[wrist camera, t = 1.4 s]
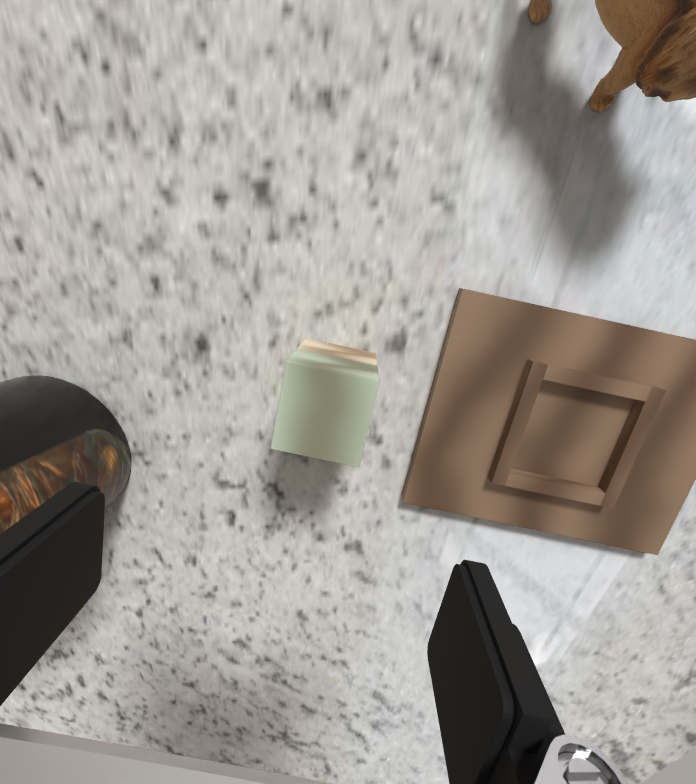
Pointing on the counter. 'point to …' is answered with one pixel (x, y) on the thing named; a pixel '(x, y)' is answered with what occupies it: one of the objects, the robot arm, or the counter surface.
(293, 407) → the two-tone block
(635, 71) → the lion figurine
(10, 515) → the jar
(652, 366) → the walnut socket board
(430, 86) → the counter surface
